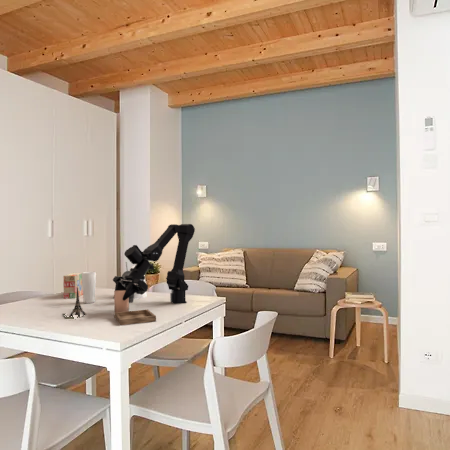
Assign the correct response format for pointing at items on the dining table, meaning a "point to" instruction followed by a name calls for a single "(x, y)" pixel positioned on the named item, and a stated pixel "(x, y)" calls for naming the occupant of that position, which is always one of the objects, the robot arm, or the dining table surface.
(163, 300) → the dining table surface
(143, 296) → the honey pot
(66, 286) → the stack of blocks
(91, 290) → the white tall cylinder
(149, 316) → the tray
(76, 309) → the eiffel tower figurine
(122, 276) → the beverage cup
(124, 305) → the pinkish-brown upright cylinder
